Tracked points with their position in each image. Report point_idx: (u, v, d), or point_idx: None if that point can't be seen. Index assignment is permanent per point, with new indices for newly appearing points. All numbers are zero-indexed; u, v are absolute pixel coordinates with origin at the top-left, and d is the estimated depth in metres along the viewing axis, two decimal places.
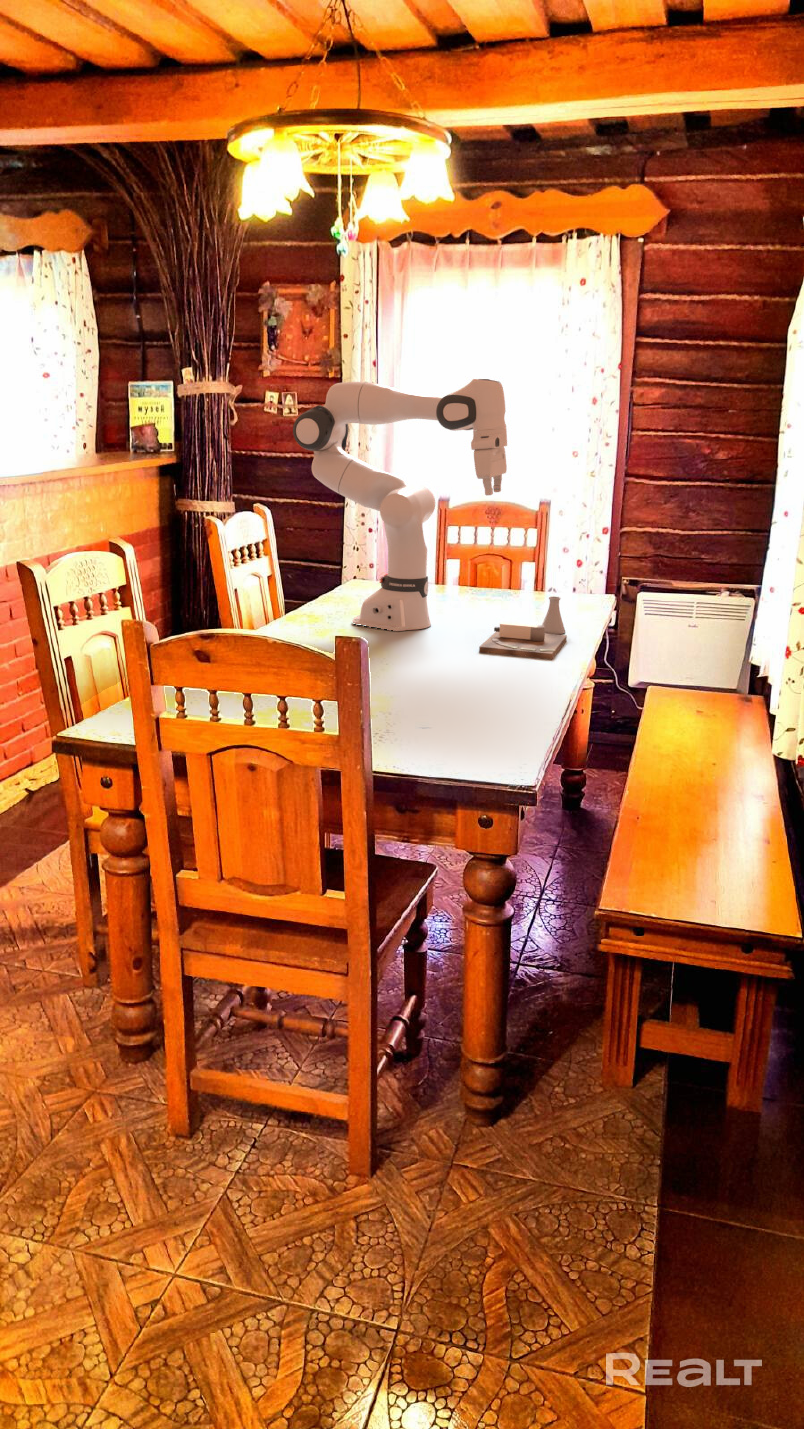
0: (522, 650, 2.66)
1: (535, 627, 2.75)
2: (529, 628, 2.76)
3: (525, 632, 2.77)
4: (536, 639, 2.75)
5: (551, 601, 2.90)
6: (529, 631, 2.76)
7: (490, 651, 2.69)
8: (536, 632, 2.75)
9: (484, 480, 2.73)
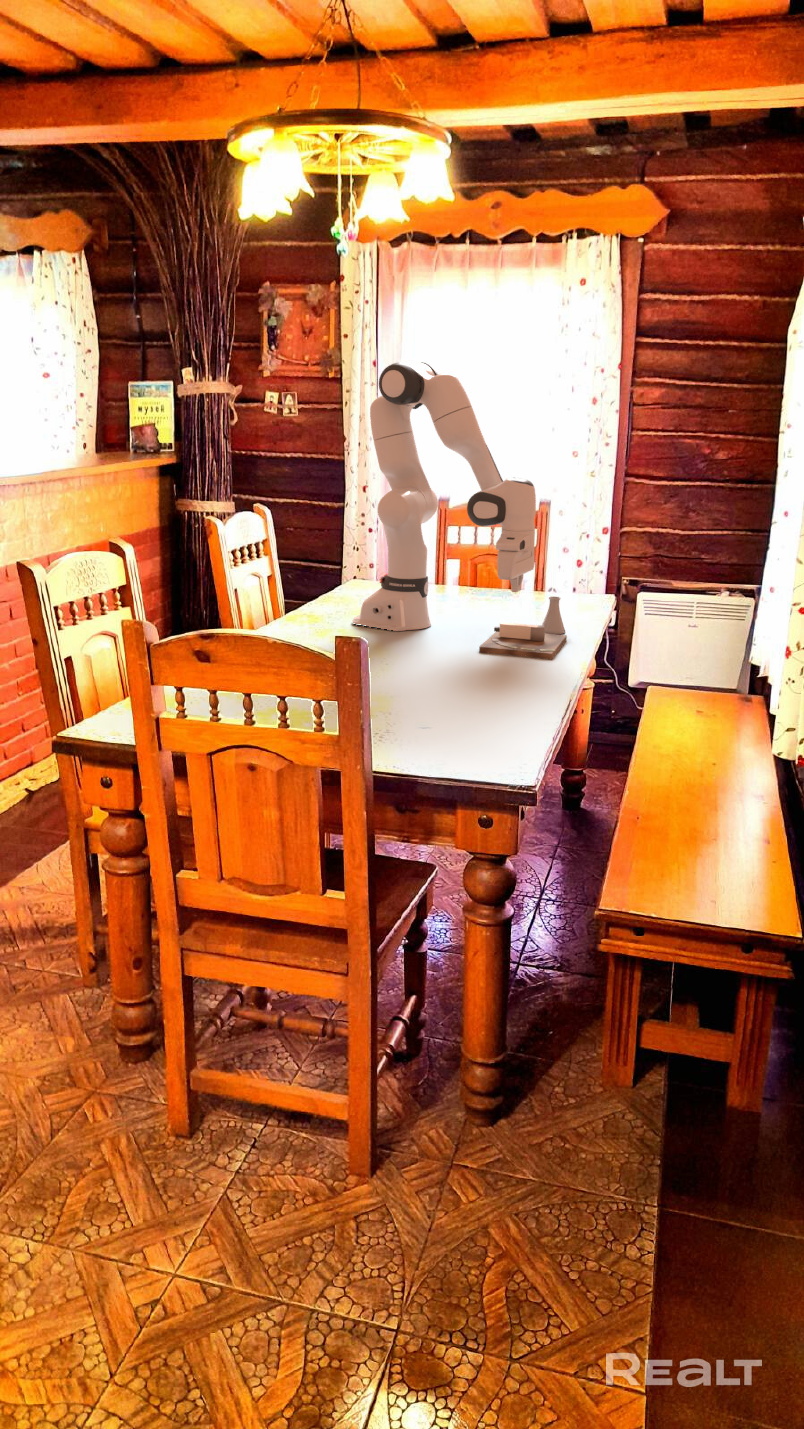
0: (522, 650, 2.66)
1: (535, 627, 2.75)
2: (529, 628, 2.76)
3: (525, 632, 2.77)
4: (536, 639, 2.75)
5: (551, 601, 2.90)
6: (529, 631, 2.76)
7: (490, 651, 2.69)
8: (536, 632, 2.75)
9: None
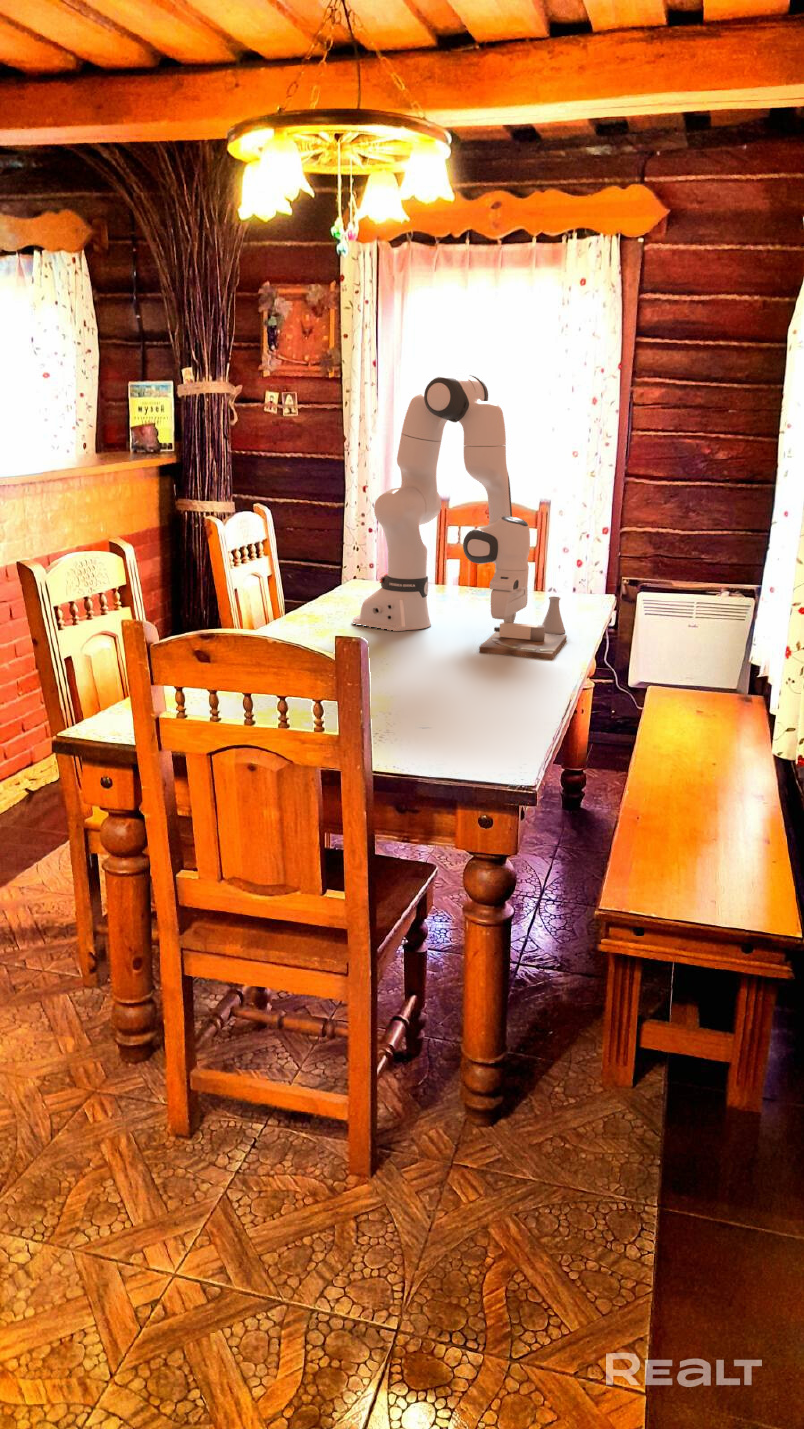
0: (522, 650, 2.66)
1: (535, 627, 2.75)
2: (529, 628, 2.76)
3: (525, 632, 2.77)
4: (536, 639, 2.75)
5: (551, 601, 2.90)
6: (529, 631, 2.76)
7: (490, 651, 2.69)
8: (536, 632, 2.75)
9: None
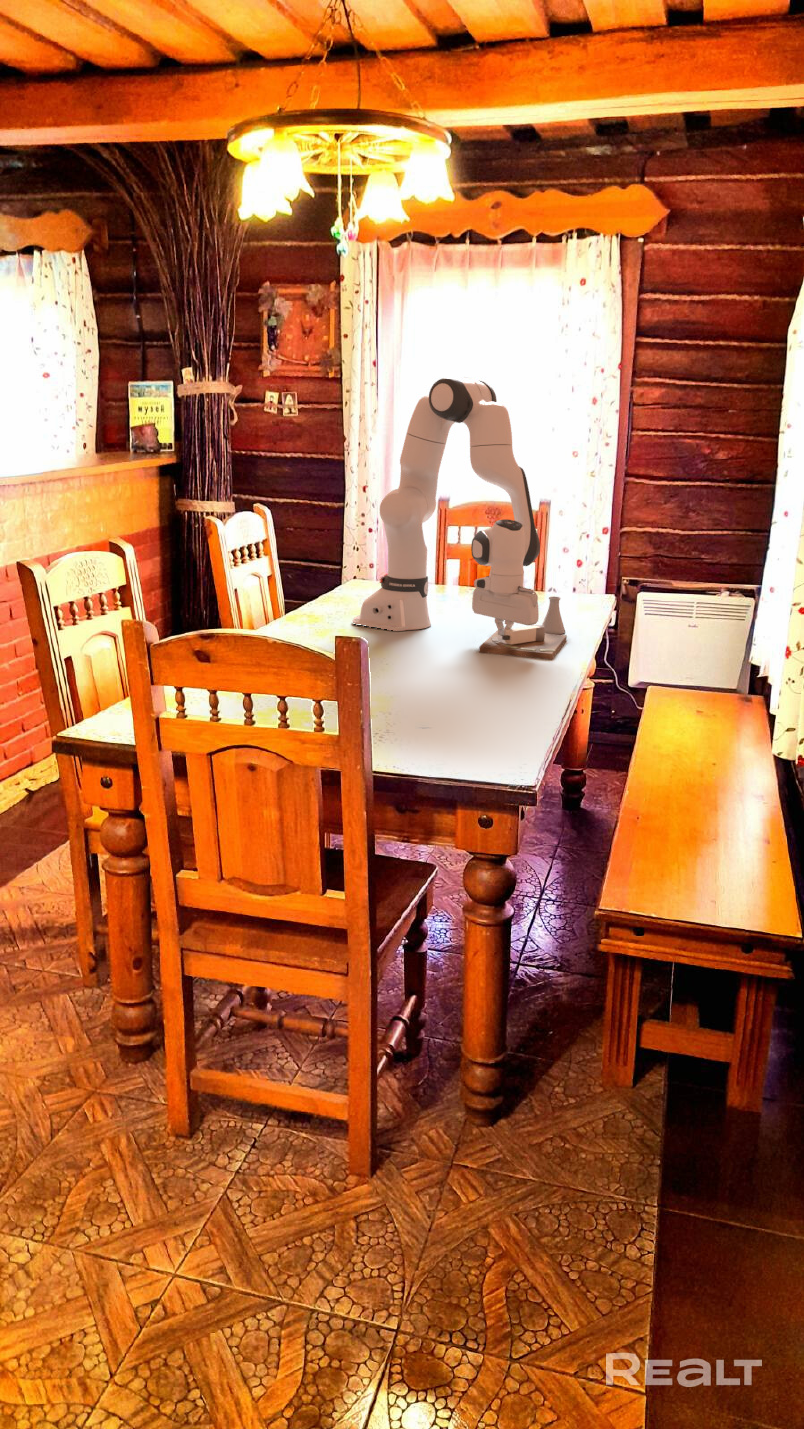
0: (522, 650, 2.66)
1: (539, 627, 2.75)
2: (535, 629, 2.74)
3: (532, 634, 2.74)
4: (542, 639, 2.76)
5: (551, 601, 2.90)
6: (535, 632, 2.75)
7: (490, 651, 2.69)
8: (542, 632, 2.75)
9: None
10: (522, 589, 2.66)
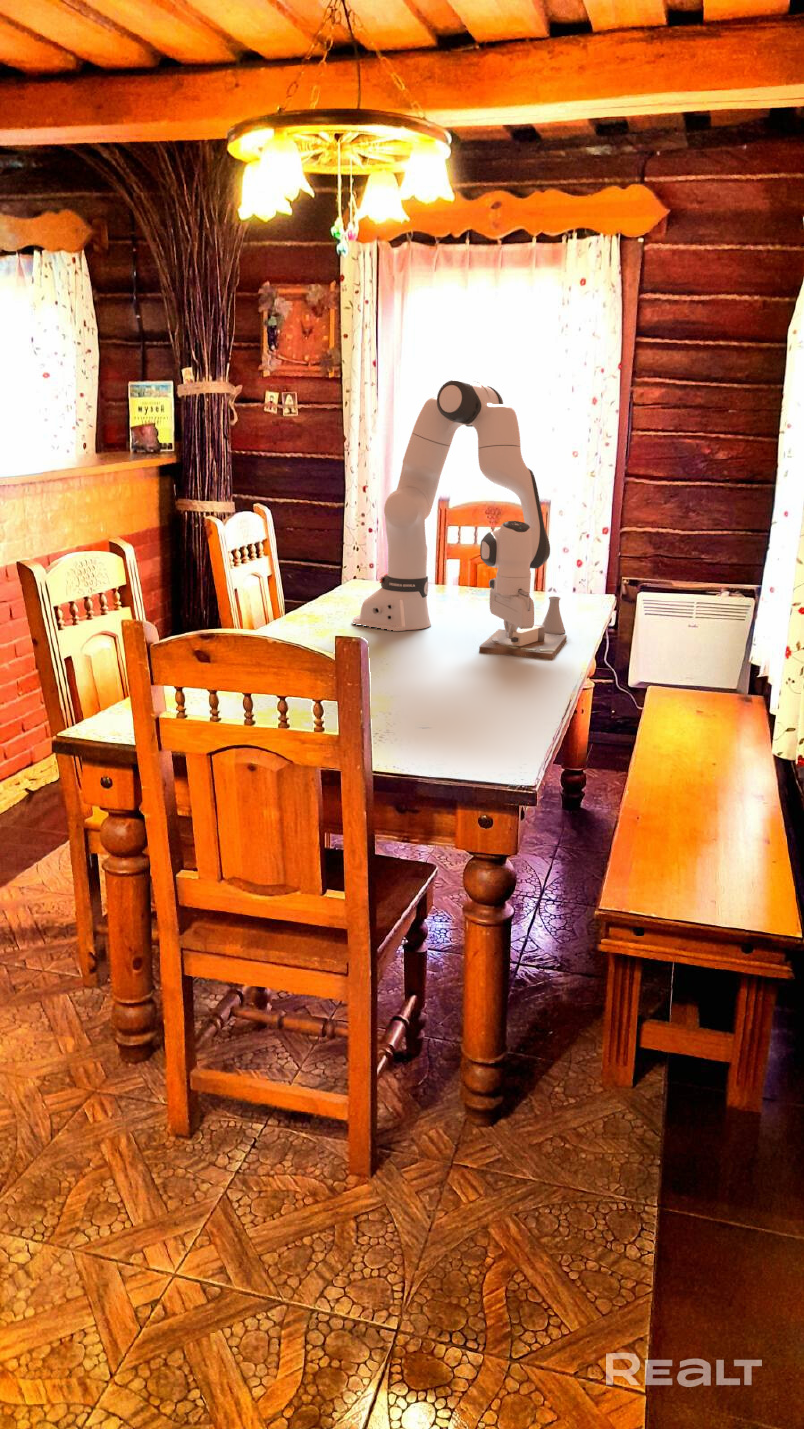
0: (522, 650, 2.66)
1: (540, 627, 2.75)
2: (537, 630, 2.74)
3: (535, 635, 2.74)
4: (543, 638, 2.76)
5: (551, 601, 2.90)
6: (537, 633, 2.75)
7: (490, 651, 2.69)
8: (543, 631, 2.76)
9: None
10: (521, 592, 2.63)
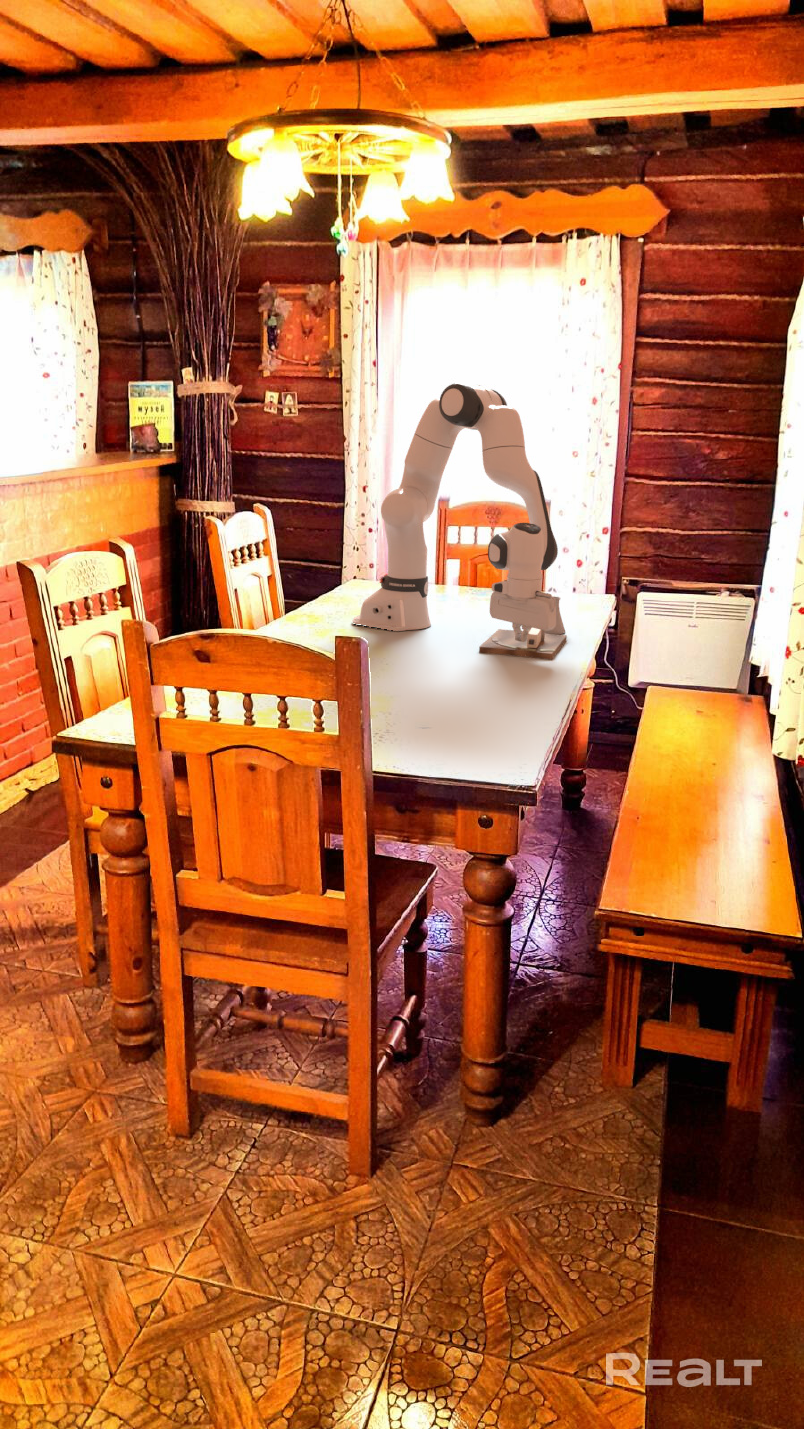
0: (522, 650, 2.66)
1: None
2: (541, 630, 2.74)
3: (540, 635, 2.74)
4: None
5: None
6: (541, 633, 2.75)
7: (490, 651, 2.69)
8: (544, 631, 2.76)
9: None
10: (540, 594, 2.61)
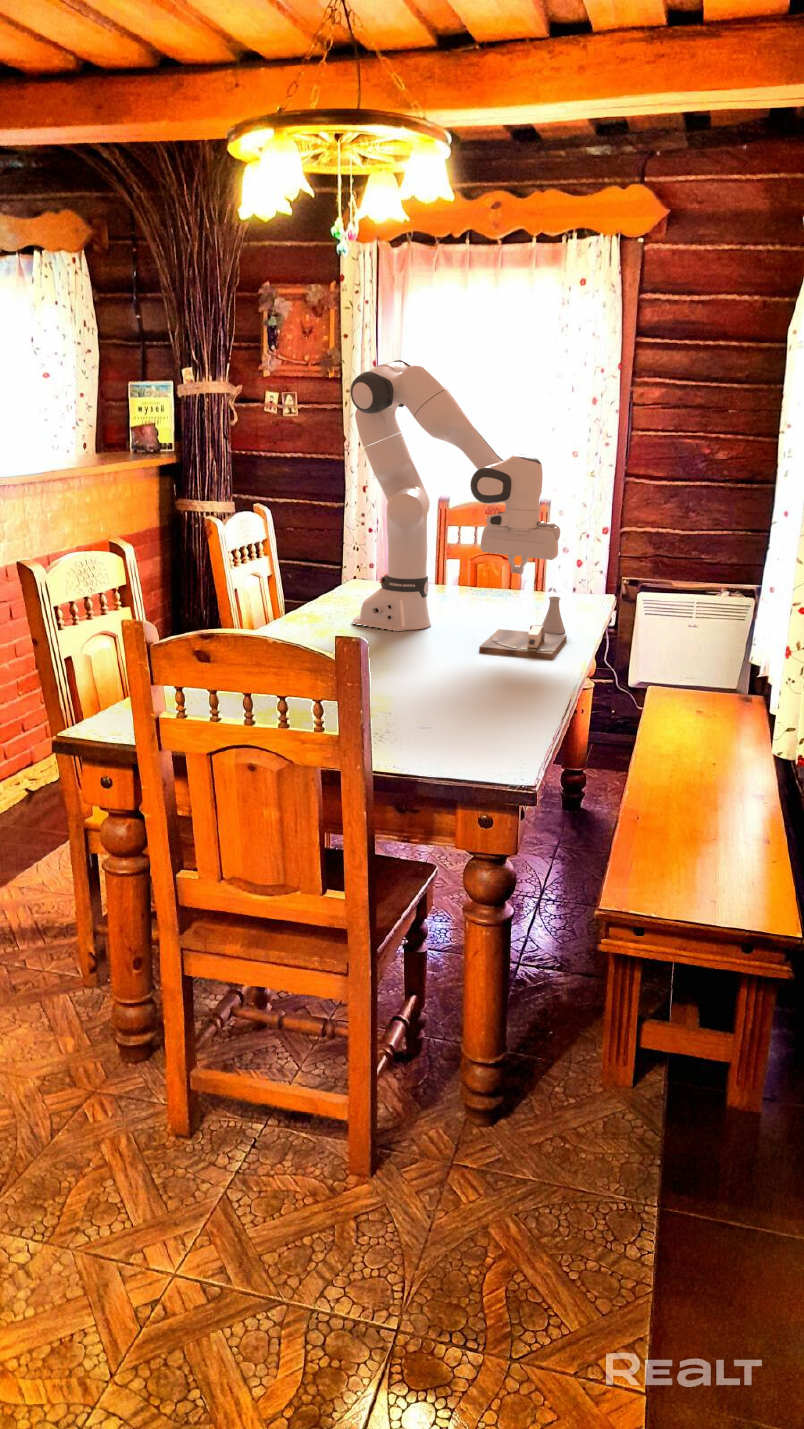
0: (522, 650, 2.66)
1: (542, 627, 2.76)
2: (541, 630, 2.74)
3: (540, 635, 2.74)
4: None
5: (551, 601, 2.90)
6: (541, 633, 2.75)
7: (490, 651, 2.69)
8: (544, 631, 2.76)
9: None
10: (543, 524, 2.65)
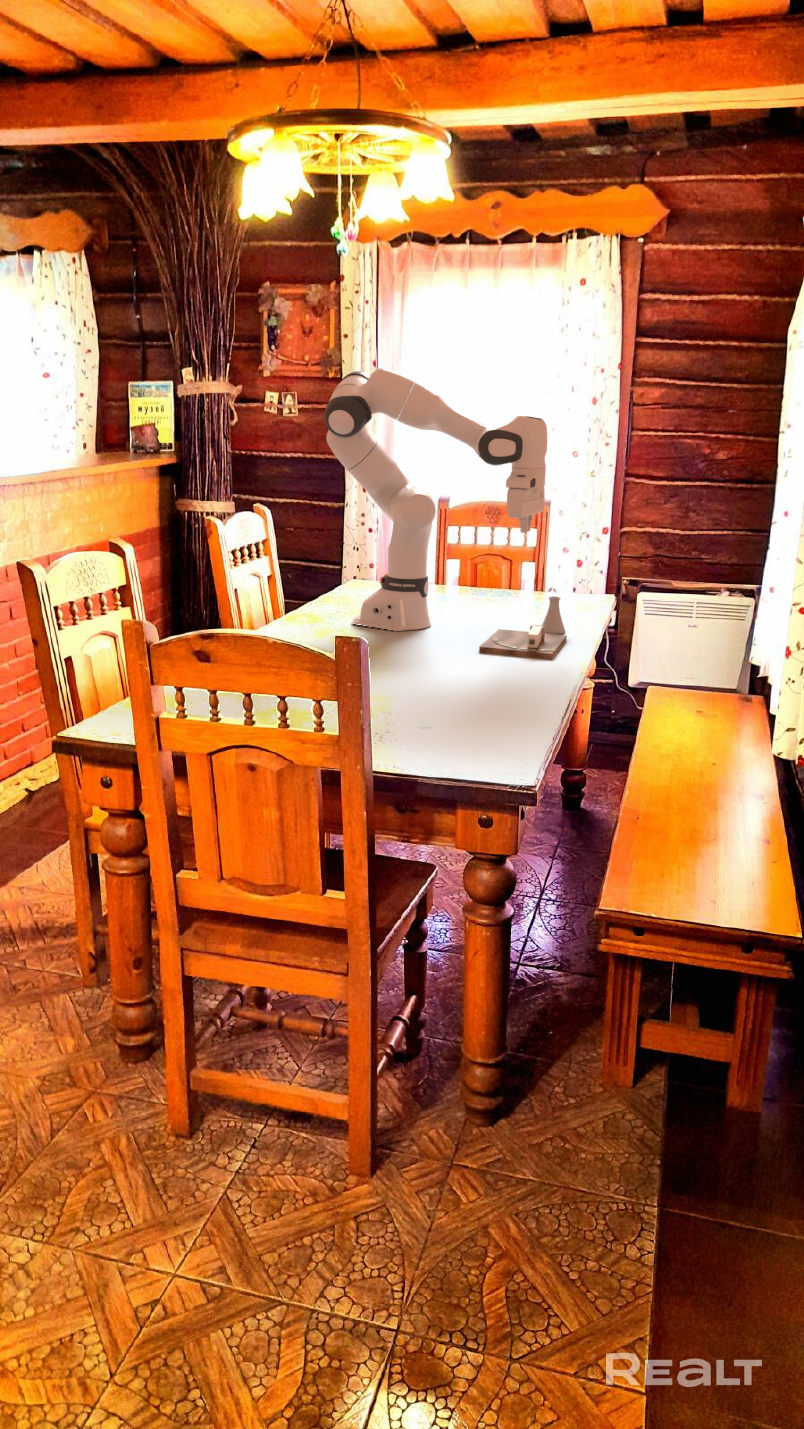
0: (522, 650, 2.66)
1: (542, 627, 2.76)
2: (541, 630, 2.74)
3: (540, 635, 2.74)
4: None
5: (551, 601, 2.90)
6: (541, 633, 2.75)
7: (490, 651, 2.69)
8: (544, 631, 2.76)
9: (520, 517, 2.73)
10: None
